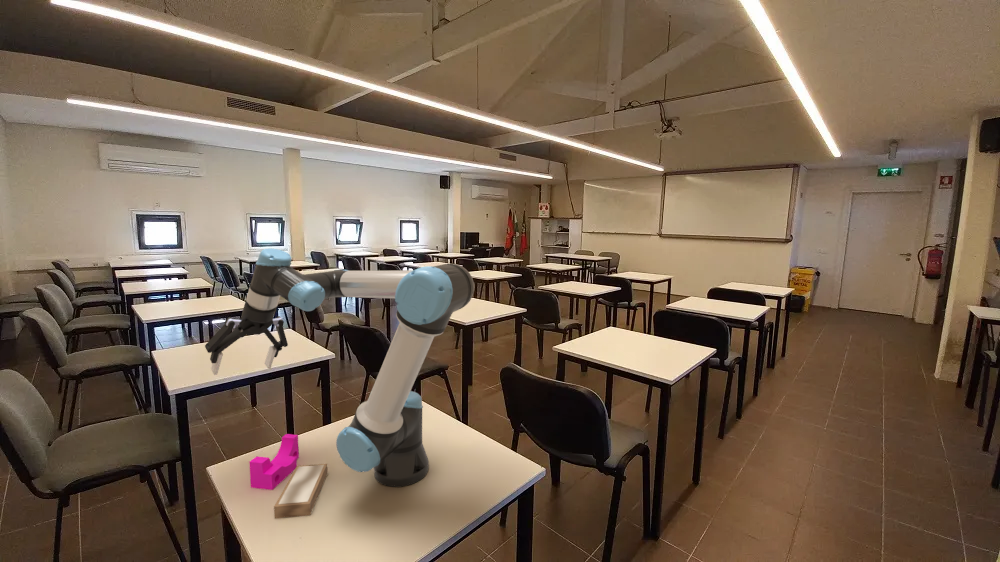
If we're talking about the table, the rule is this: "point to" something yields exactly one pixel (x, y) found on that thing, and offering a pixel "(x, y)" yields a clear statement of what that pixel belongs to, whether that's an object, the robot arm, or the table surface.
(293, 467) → the magenta bracket
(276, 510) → the base slab
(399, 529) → the table surface
